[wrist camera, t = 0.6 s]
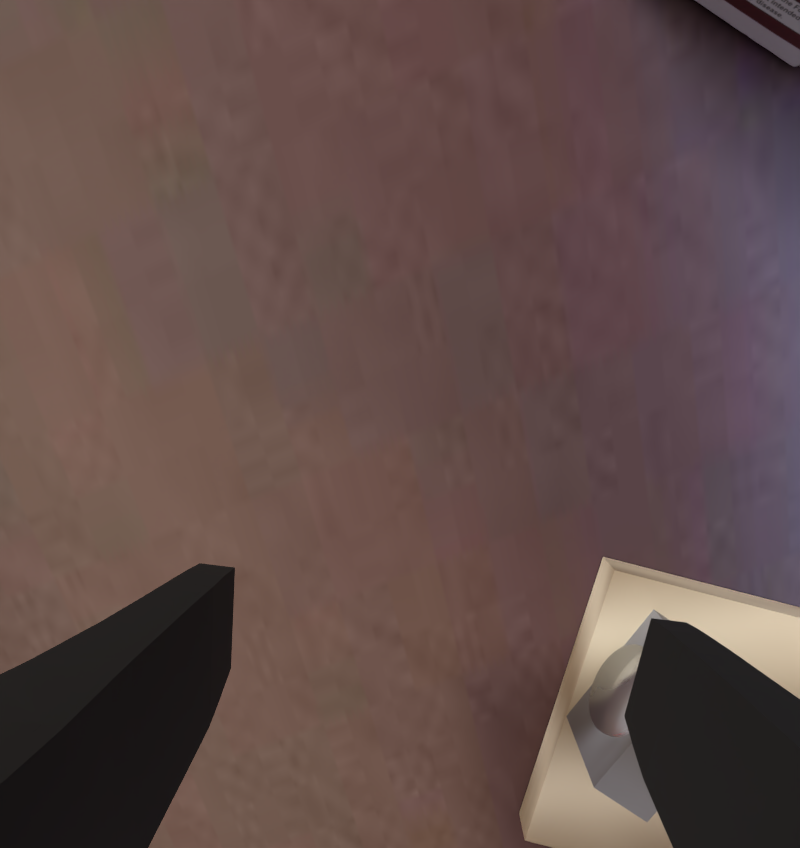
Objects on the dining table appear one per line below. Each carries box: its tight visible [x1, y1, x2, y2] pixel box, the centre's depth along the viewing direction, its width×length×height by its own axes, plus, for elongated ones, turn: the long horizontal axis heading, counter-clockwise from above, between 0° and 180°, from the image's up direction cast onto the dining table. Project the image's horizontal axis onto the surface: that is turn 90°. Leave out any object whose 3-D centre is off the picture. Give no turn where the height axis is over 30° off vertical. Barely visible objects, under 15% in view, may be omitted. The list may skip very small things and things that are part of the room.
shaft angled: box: [589, 644, 643, 737], centre depth 18 cm, size 6×3×3 cm, turn 56°
